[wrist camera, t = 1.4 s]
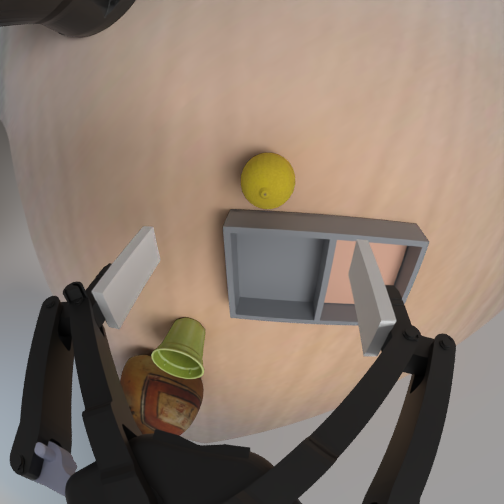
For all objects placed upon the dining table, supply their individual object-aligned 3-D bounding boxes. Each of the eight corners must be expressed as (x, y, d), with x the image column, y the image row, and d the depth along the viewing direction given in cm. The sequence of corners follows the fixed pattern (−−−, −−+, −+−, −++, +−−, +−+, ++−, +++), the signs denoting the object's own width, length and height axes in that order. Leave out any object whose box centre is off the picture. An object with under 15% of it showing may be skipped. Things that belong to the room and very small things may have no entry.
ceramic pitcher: (181, 393, 68) (154, 485, 44) (121, 356, 62) (79, 453, 38) (224, 378, 59) (198, 497, 34) (151, 333, 52) (98, 462, 28)
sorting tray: (230, 209, 34) (222, 226, 31) (416, 223, 32) (429, 241, 28) (235, 296, 43) (230, 317, 39) (387, 304, 40) (393, 325, 36)
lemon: (290, 194, 32) (289, 226, 26) (244, 186, 32) (231, 216, 26) (298, 150, 29) (301, 171, 22) (249, 142, 29) (237, 160, 23)
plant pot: (219, 320, 47) (207, 361, 40) (210, 348, 52) (200, 384, 45) (168, 304, 46) (150, 342, 39) (166, 333, 52) (151, 368, 45)
